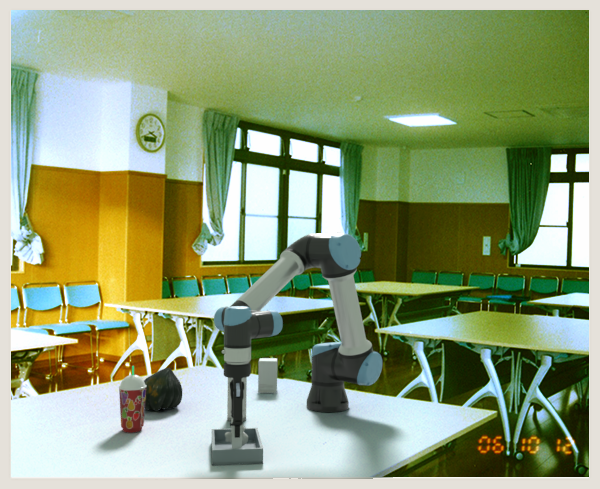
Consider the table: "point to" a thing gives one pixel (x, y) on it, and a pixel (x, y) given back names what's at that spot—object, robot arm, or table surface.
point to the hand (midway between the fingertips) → (236, 444)
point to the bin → (229, 456)
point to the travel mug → (231, 400)
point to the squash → (162, 390)
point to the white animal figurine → (244, 436)
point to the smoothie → (132, 403)
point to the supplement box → (267, 375)
